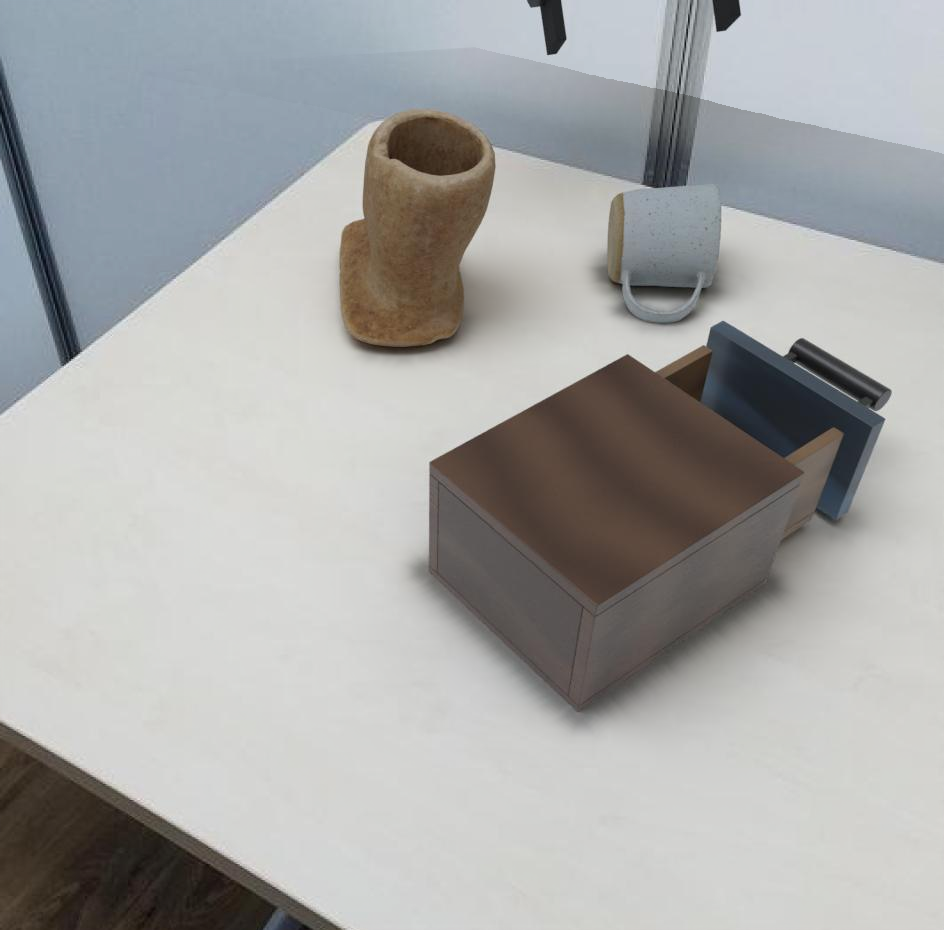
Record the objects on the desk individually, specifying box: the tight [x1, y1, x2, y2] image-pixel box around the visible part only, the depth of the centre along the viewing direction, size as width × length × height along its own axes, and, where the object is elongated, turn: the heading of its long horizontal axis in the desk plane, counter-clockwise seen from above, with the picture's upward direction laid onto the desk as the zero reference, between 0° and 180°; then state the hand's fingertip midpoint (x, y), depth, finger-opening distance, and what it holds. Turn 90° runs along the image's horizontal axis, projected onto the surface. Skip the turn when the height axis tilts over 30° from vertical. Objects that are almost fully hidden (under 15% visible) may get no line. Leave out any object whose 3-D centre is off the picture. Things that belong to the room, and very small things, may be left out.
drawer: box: [654, 320, 893, 541], centre depth 72 cm, size 20×13×8 cm, turn 125°
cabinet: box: [428, 353, 805, 713], centre depth 68 cm, size 16×14×10 cm
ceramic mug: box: [606, 183, 722, 324], centre depth 88 cm, size 11×8×8 cm
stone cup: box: [339, 108, 497, 348], centre depth 86 cm, size 15×12×15 cm
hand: (643, 36), depth 86 cm, fingers open, 13 cm apart
